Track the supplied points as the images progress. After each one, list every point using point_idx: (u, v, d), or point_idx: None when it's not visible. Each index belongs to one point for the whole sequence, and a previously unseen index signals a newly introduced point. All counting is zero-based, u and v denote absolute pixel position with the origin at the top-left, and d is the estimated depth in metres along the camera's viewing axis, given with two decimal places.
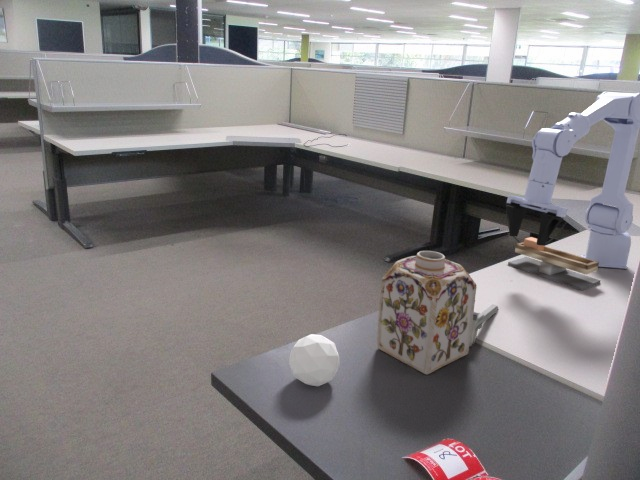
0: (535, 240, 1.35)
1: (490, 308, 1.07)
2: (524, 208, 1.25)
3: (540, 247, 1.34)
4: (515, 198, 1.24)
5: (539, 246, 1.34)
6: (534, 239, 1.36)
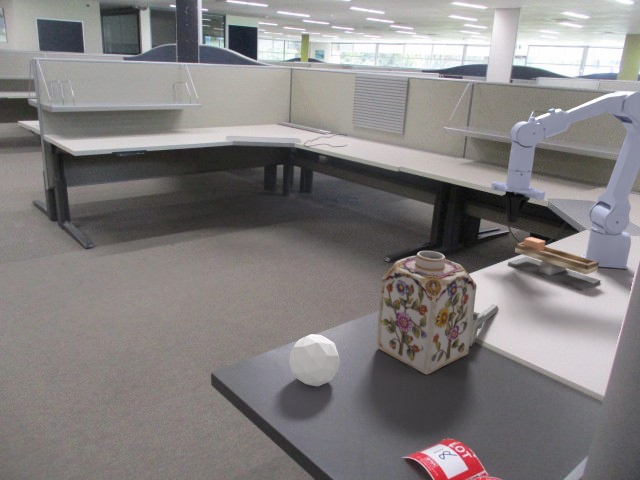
0: (535, 240, 1.35)
1: (490, 308, 1.07)
2: None
3: (540, 247, 1.34)
4: (498, 185, 1.40)
5: (539, 246, 1.34)
6: (534, 239, 1.36)
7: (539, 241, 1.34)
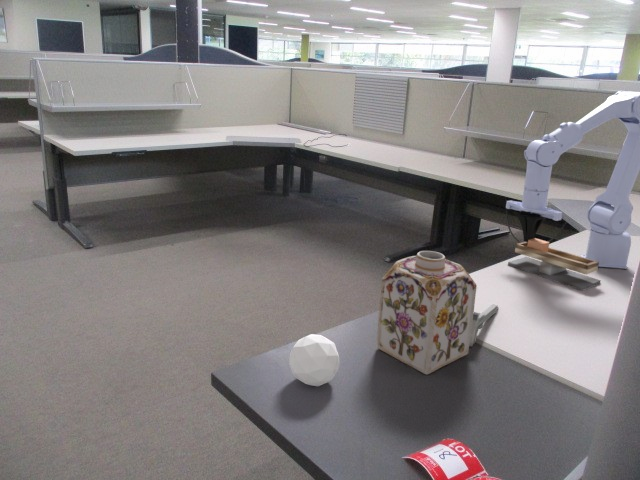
0: (539, 241, 1.34)
1: (490, 308, 1.07)
2: None
3: (544, 248, 1.33)
4: (513, 204, 1.37)
5: (543, 247, 1.33)
6: (538, 240, 1.35)
7: (543, 243, 1.33)
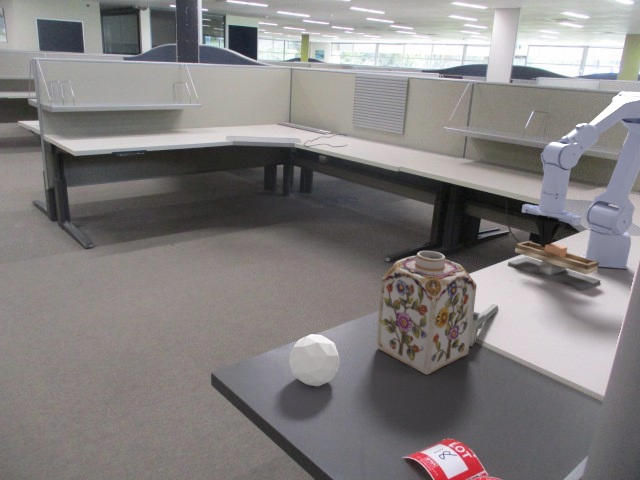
0: (557, 246, 1.30)
1: (490, 308, 1.07)
2: None
3: (562, 253, 1.29)
4: (530, 208, 1.33)
5: (561, 252, 1.29)
6: (556, 245, 1.31)
7: (561, 248, 1.29)
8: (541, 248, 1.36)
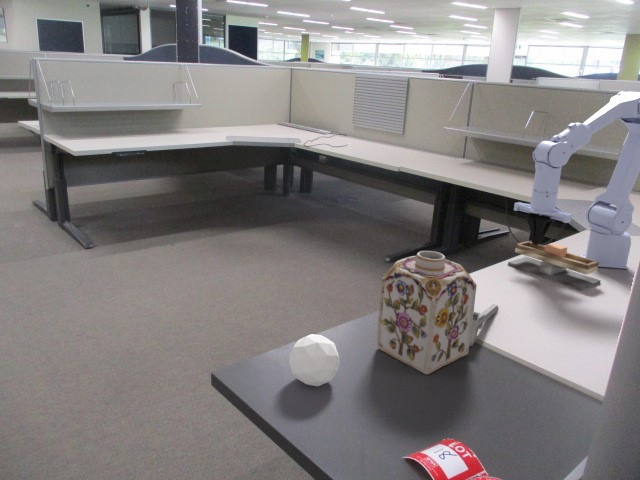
0: (557, 246, 1.30)
1: (490, 308, 1.07)
2: None
3: (562, 253, 1.29)
4: (522, 206, 1.35)
5: (561, 252, 1.29)
6: (556, 245, 1.31)
7: (561, 248, 1.29)
8: (541, 248, 1.36)
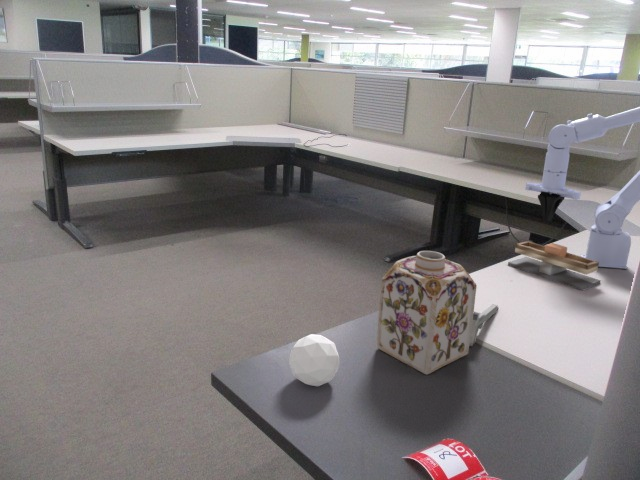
0: (557, 246, 1.30)
1: (490, 308, 1.07)
2: None
3: (562, 253, 1.29)
4: (533, 186, 1.45)
5: (561, 252, 1.29)
6: (556, 245, 1.31)
7: (561, 248, 1.29)
8: (541, 248, 1.36)
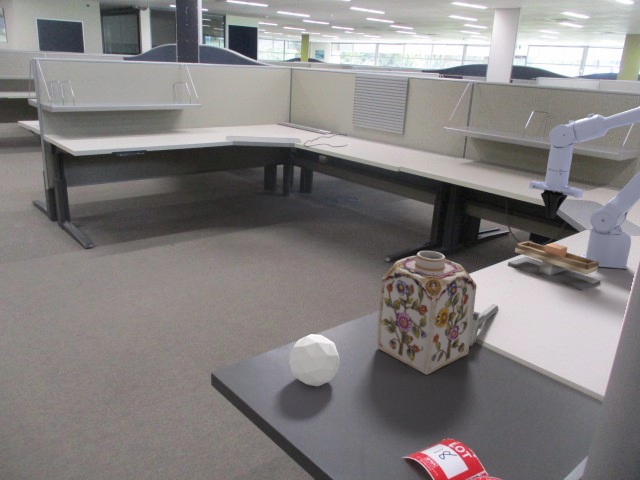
0: (557, 246, 1.30)
1: (490, 308, 1.07)
2: None
3: (562, 253, 1.29)
4: (537, 184, 1.48)
5: (561, 252, 1.29)
6: (556, 245, 1.31)
7: (561, 248, 1.29)
8: (541, 248, 1.36)
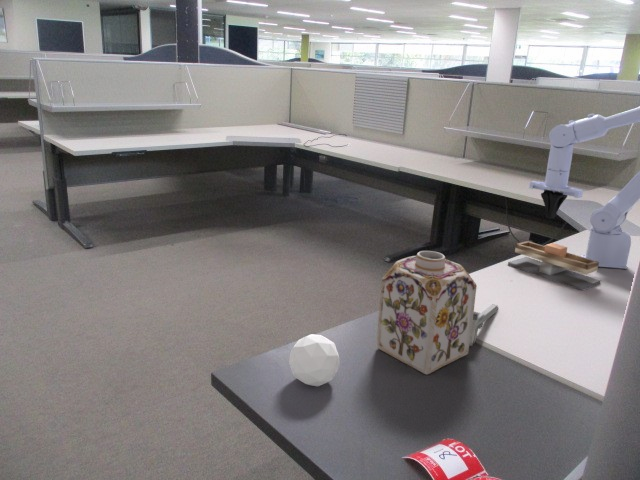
0: (557, 246, 1.30)
1: (490, 308, 1.07)
2: None
3: (562, 253, 1.29)
4: (537, 184, 1.48)
5: (561, 252, 1.29)
6: (556, 245, 1.31)
7: (561, 248, 1.29)
8: (541, 248, 1.36)
